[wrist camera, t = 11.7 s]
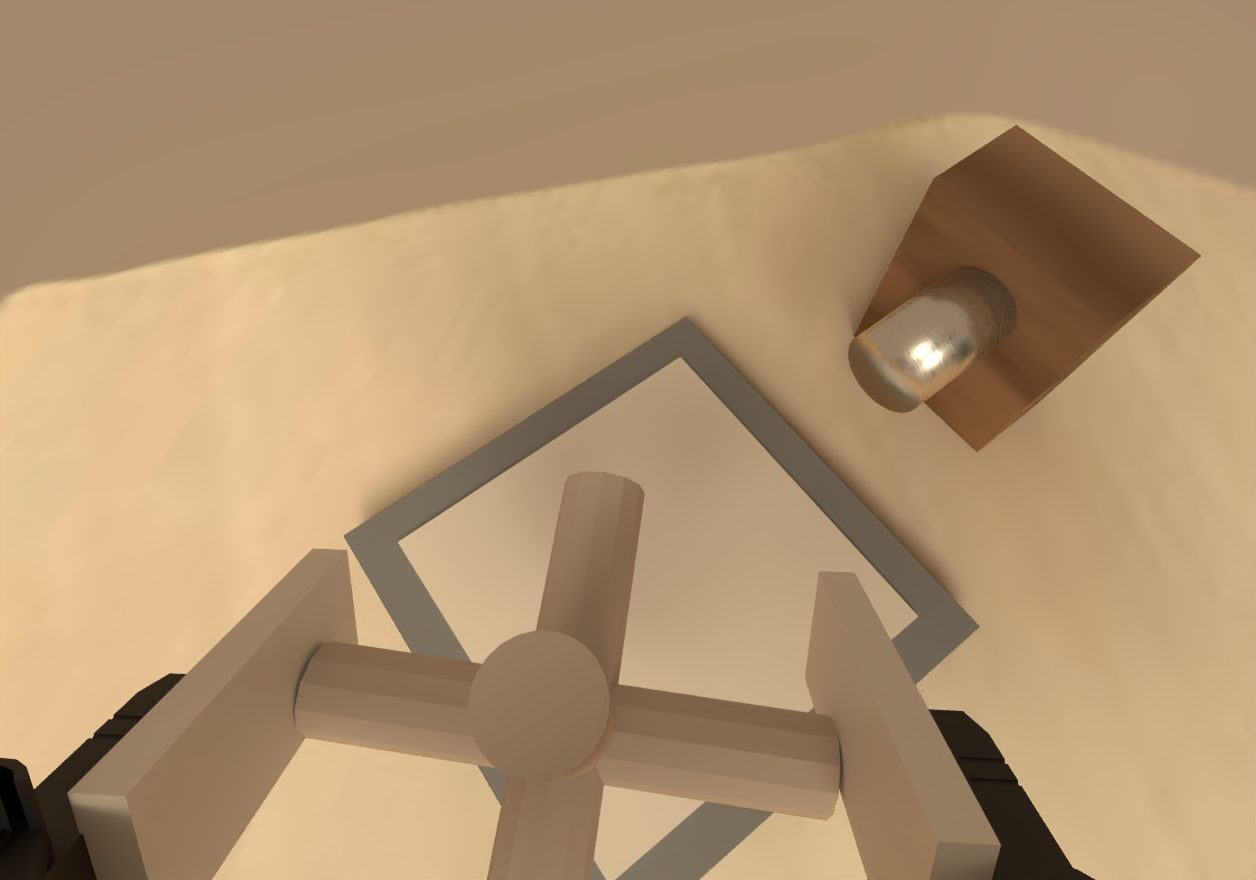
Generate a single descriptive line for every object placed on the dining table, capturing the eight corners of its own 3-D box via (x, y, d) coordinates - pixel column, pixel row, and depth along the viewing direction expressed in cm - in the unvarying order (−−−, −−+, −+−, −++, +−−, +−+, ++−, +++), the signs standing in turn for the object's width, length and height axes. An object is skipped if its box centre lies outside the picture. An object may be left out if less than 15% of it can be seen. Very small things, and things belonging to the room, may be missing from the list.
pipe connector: (333, 937, 16) (-45, 1150, 7) (443, 530, 20) (299, 335, 11) (764, 1012, 15) (963, 1351, 6) (783, 577, 20) (916, 413, 11)
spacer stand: (847, 230, 33) (916, 54, 25) (1133, 479, 27) (1345, 357, 19) (358, 547, 26) (233, 450, 18) (600, 957, 21) (575, 1082, 13)
